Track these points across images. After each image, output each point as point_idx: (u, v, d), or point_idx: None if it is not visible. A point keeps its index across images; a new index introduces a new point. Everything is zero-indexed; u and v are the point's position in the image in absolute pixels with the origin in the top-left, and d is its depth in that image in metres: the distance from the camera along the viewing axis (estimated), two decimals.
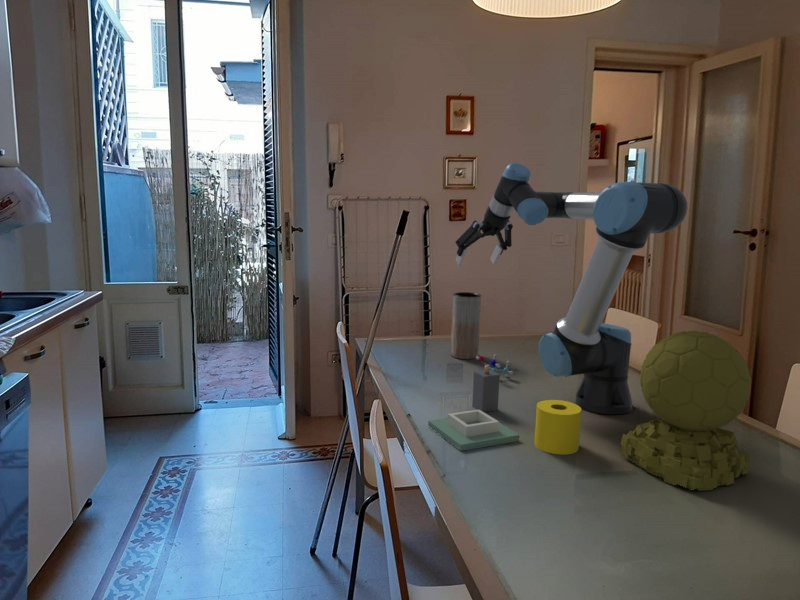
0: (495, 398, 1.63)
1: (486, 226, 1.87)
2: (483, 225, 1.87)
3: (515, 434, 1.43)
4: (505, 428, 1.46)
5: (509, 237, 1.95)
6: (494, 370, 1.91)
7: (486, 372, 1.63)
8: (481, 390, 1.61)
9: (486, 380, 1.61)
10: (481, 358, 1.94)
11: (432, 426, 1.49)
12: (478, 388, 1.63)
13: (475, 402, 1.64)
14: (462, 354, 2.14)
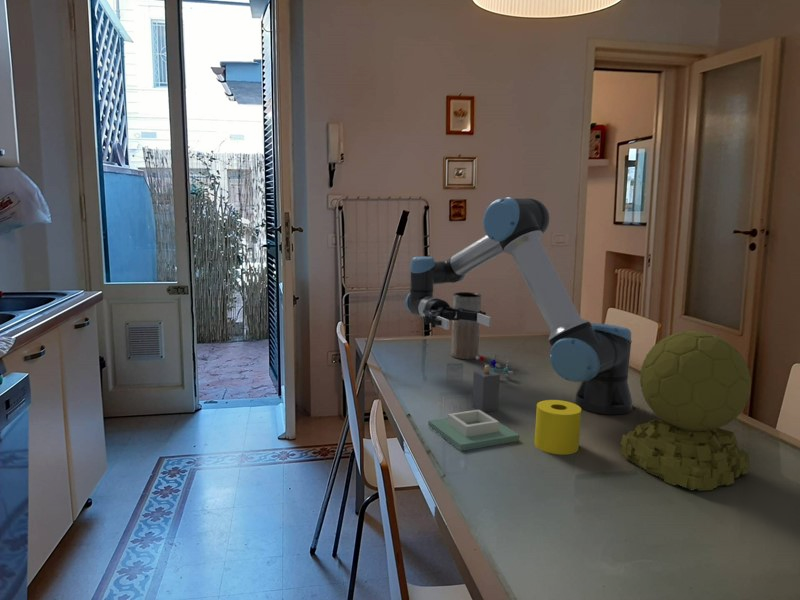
0: (495, 398, 1.63)
1: (434, 310, 1.83)
2: (431, 311, 1.83)
3: (515, 434, 1.43)
4: (505, 428, 1.46)
5: (472, 310, 1.83)
6: (494, 370, 1.91)
7: (486, 372, 1.63)
8: (481, 390, 1.61)
9: (486, 380, 1.61)
10: (481, 358, 1.94)
11: (432, 426, 1.49)
12: (478, 388, 1.63)
13: (475, 402, 1.64)
14: (462, 354, 2.14)
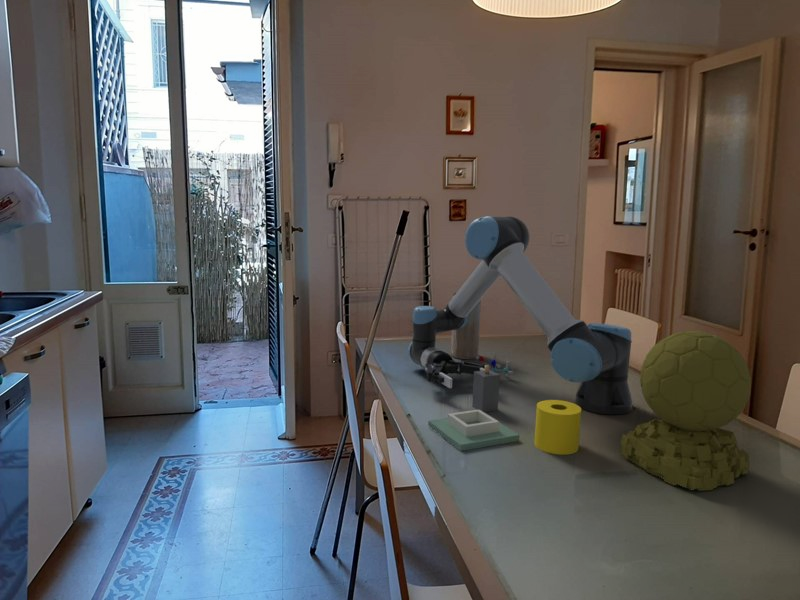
0: (495, 398, 1.63)
1: (436, 363, 1.83)
2: (433, 365, 1.82)
3: (515, 434, 1.43)
4: (505, 428, 1.46)
5: (474, 364, 1.83)
6: (494, 370, 1.91)
7: (486, 372, 1.63)
8: (481, 390, 1.61)
9: (486, 380, 1.61)
10: (481, 358, 1.94)
11: (432, 426, 1.49)
12: (478, 388, 1.63)
13: (475, 402, 1.64)
14: (462, 354, 2.14)
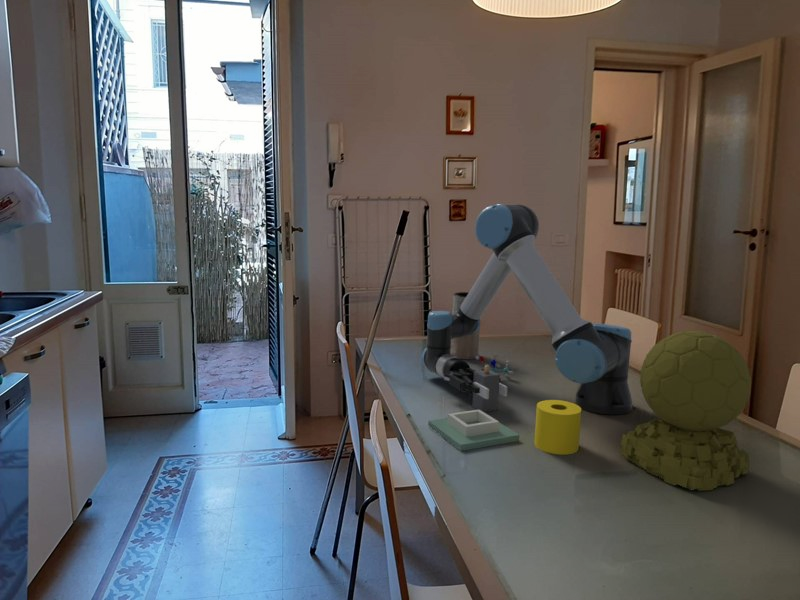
0: (495, 398, 1.63)
1: (453, 372, 1.74)
2: (450, 373, 1.73)
3: (515, 434, 1.43)
4: (505, 428, 1.46)
5: None
6: (494, 370, 1.91)
7: (486, 372, 1.63)
8: None
9: (486, 380, 1.61)
10: (481, 358, 1.94)
11: (432, 426, 1.49)
12: None
13: (475, 402, 1.64)
14: (462, 354, 2.14)
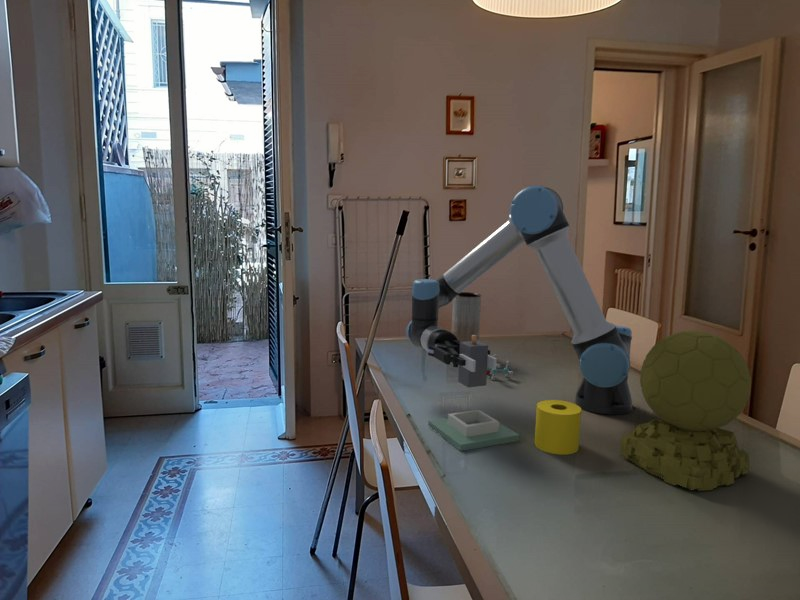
0: (483, 372, 1.45)
1: (438, 344, 1.56)
2: (435, 346, 1.55)
3: (515, 434, 1.43)
4: (505, 428, 1.46)
5: None
6: (494, 370, 1.91)
7: (473, 342, 1.45)
8: None
9: (473, 351, 1.43)
10: None
11: (432, 426, 1.49)
12: None
13: (461, 376, 1.47)
14: None
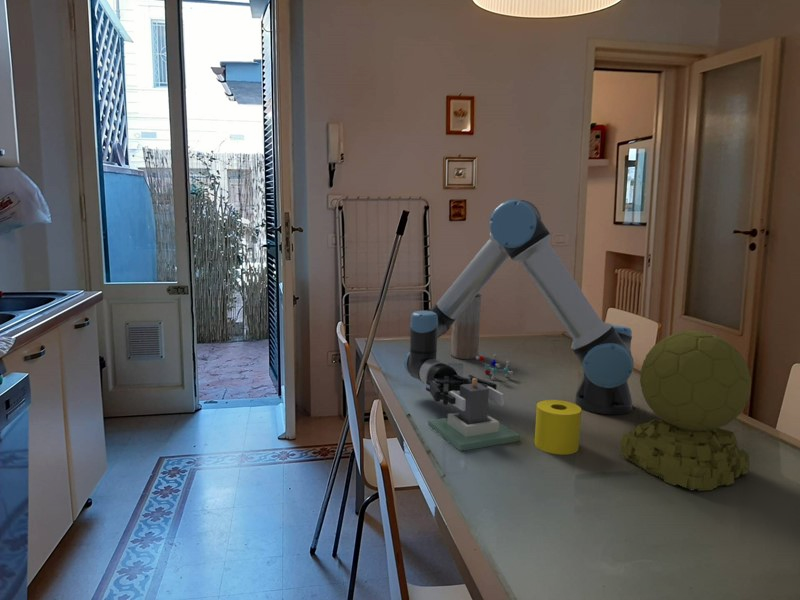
0: (484, 415, 1.45)
1: (438, 379, 1.55)
2: (434, 381, 1.55)
3: (515, 434, 1.43)
4: (505, 428, 1.46)
5: (482, 380, 1.55)
6: (494, 370, 1.91)
7: (474, 386, 1.44)
8: (468, 406, 1.43)
9: (474, 395, 1.42)
10: (481, 358, 1.94)
11: (432, 426, 1.49)
12: (465, 404, 1.44)
13: (461, 419, 1.46)
14: (462, 354, 2.14)
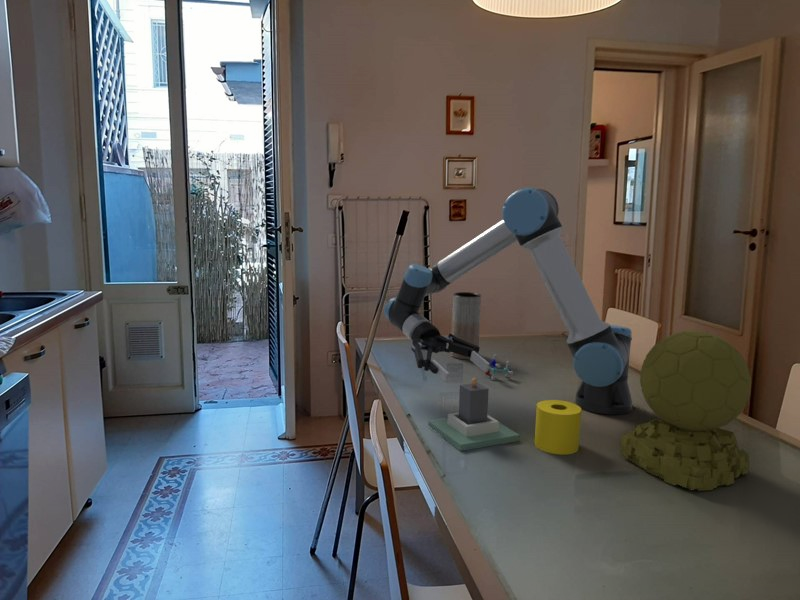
0: (484, 415, 1.45)
1: (424, 340, 1.65)
2: (420, 341, 1.64)
3: (515, 434, 1.43)
4: (505, 428, 1.46)
5: (464, 342, 1.67)
6: (494, 370, 1.91)
7: (473, 386, 1.45)
8: (468, 406, 1.43)
9: (473, 395, 1.42)
10: None
11: (432, 426, 1.49)
12: (464, 404, 1.45)
13: (461, 419, 1.46)
14: None
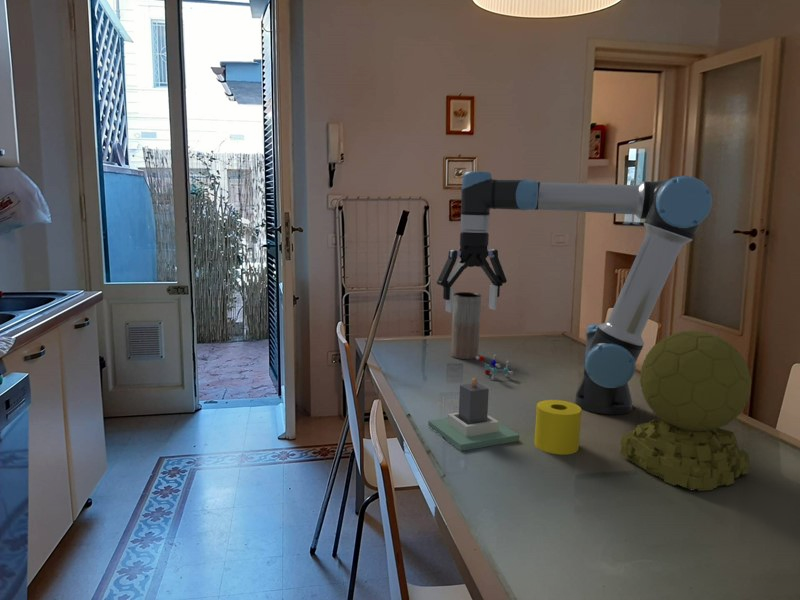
0: (484, 415, 1.45)
1: (465, 252, 1.58)
2: (461, 252, 1.57)
3: (515, 434, 1.43)
4: (505, 428, 1.46)
5: (499, 268, 1.63)
6: (494, 370, 1.91)
7: (473, 386, 1.44)
8: (468, 406, 1.43)
9: (473, 395, 1.42)
10: (481, 358, 1.94)
11: (432, 426, 1.49)
12: (464, 404, 1.45)
13: (461, 419, 1.46)
14: (462, 354, 2.14)
